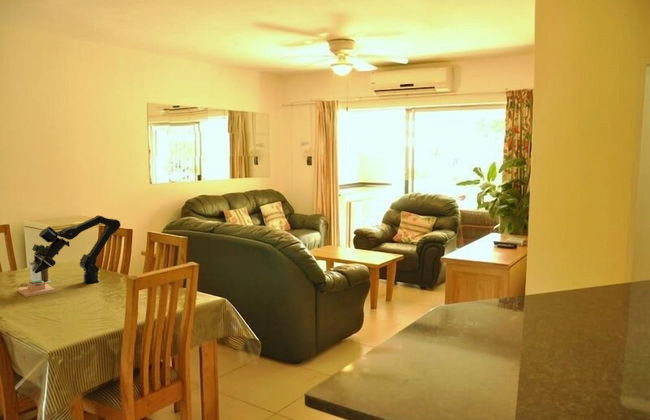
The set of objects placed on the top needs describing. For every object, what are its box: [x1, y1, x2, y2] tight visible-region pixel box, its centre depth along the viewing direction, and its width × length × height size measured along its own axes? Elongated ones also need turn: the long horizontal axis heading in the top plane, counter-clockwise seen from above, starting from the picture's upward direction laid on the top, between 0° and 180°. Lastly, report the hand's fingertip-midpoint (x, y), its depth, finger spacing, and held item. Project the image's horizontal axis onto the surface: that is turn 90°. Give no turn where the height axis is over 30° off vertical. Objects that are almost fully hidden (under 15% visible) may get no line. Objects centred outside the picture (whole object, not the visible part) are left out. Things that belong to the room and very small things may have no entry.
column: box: [29, 261, 42, 283], centre depth 262 cm, size 5×4×10 cm
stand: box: [17, 281, 56, 298], centre depth 263 cm, size 14×14×5 cm
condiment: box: [41, 268, 52, 284], centre depth 282 cm, size 7×8×12 cm
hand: (32, 271), depth 261 cm, fingers open, 9 cm apart
